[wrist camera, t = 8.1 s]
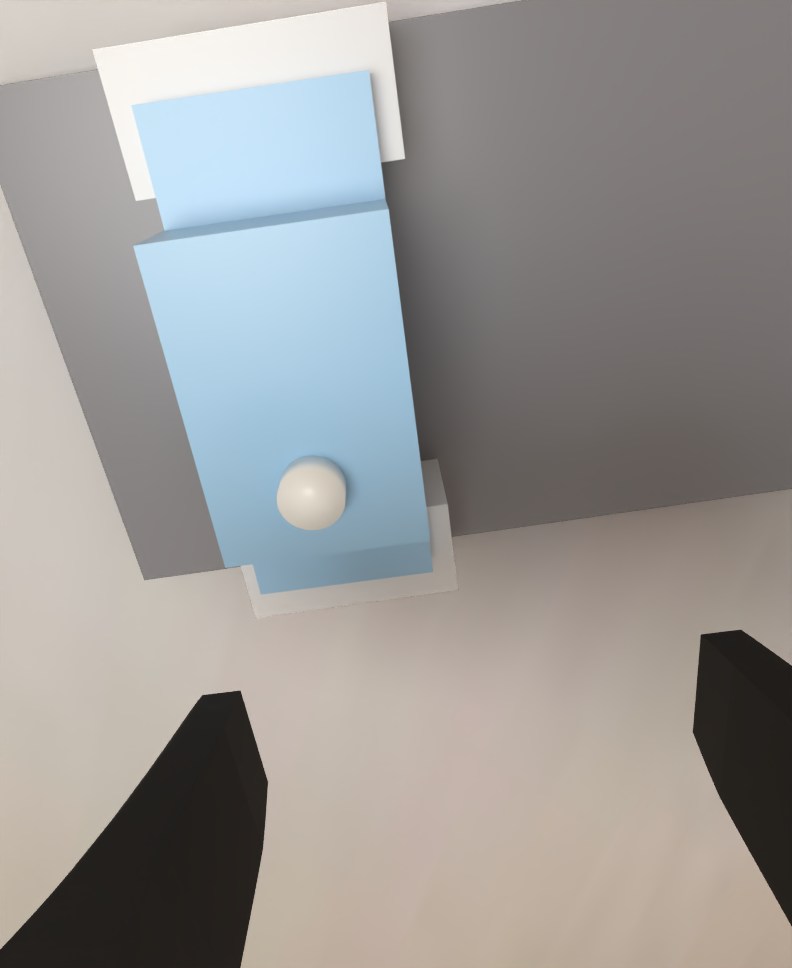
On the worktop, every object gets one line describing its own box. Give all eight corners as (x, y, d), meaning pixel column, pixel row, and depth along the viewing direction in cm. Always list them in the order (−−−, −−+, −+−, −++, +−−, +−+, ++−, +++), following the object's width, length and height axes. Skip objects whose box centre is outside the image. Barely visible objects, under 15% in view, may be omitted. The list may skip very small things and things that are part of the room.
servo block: (368, 82, 14) (369, 54, 9) (423, 507, 19) (443, 642, 14) (176, 111, 14) (75, 98, 9) (276, 527, 19) (243, 669, 14)
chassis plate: (932, -60, 14) (1088, -114, 11) (846, 462, 20) (937, 523, 17) (-10, 93, 15) (-110, 81, 12) (154, 560, 20) (115, 637, 17)
